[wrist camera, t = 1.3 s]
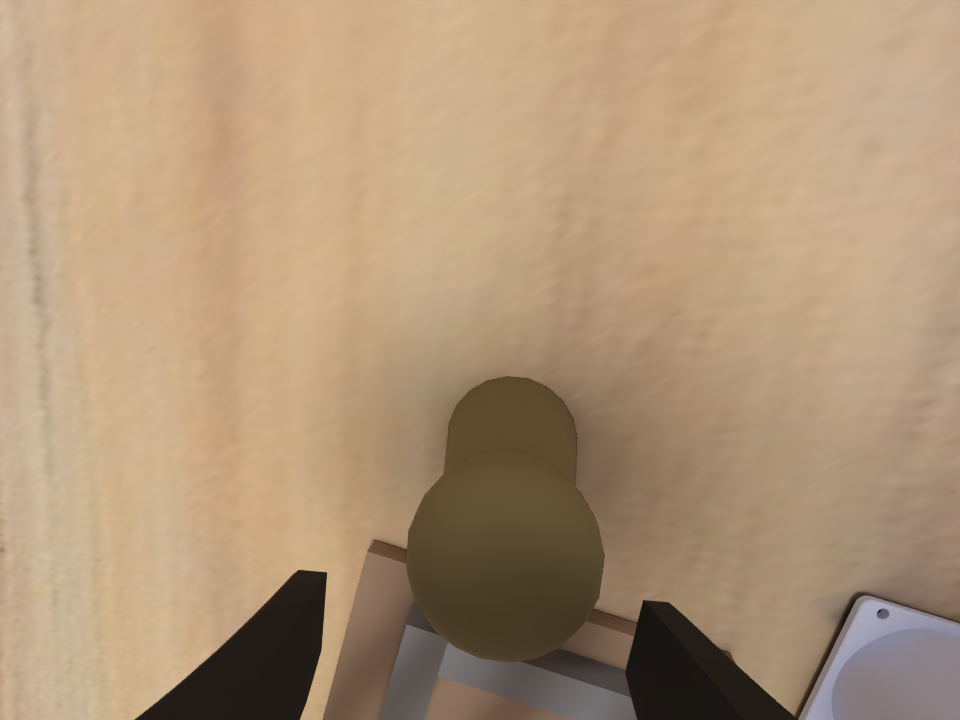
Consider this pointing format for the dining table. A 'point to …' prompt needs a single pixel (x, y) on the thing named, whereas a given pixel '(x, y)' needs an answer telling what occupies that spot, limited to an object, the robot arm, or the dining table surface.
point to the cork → (507, 528)
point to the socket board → (448, 693)
